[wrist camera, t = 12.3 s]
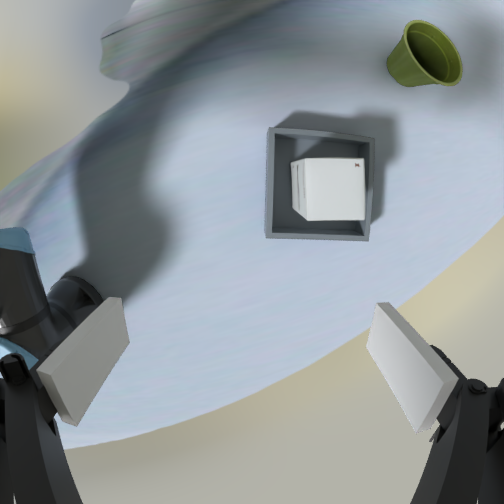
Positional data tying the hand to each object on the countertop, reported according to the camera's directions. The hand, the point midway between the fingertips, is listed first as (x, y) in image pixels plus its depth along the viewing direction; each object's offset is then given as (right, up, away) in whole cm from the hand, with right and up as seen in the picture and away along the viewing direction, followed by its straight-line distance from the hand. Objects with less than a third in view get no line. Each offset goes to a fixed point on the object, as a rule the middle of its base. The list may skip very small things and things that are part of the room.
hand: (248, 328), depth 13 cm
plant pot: (+28, +37, +23) cm, 51 cm away
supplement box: (+10, +14, +29) cm, 33 cm away
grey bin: (+10, +14, +29) cm, 34 cm away
